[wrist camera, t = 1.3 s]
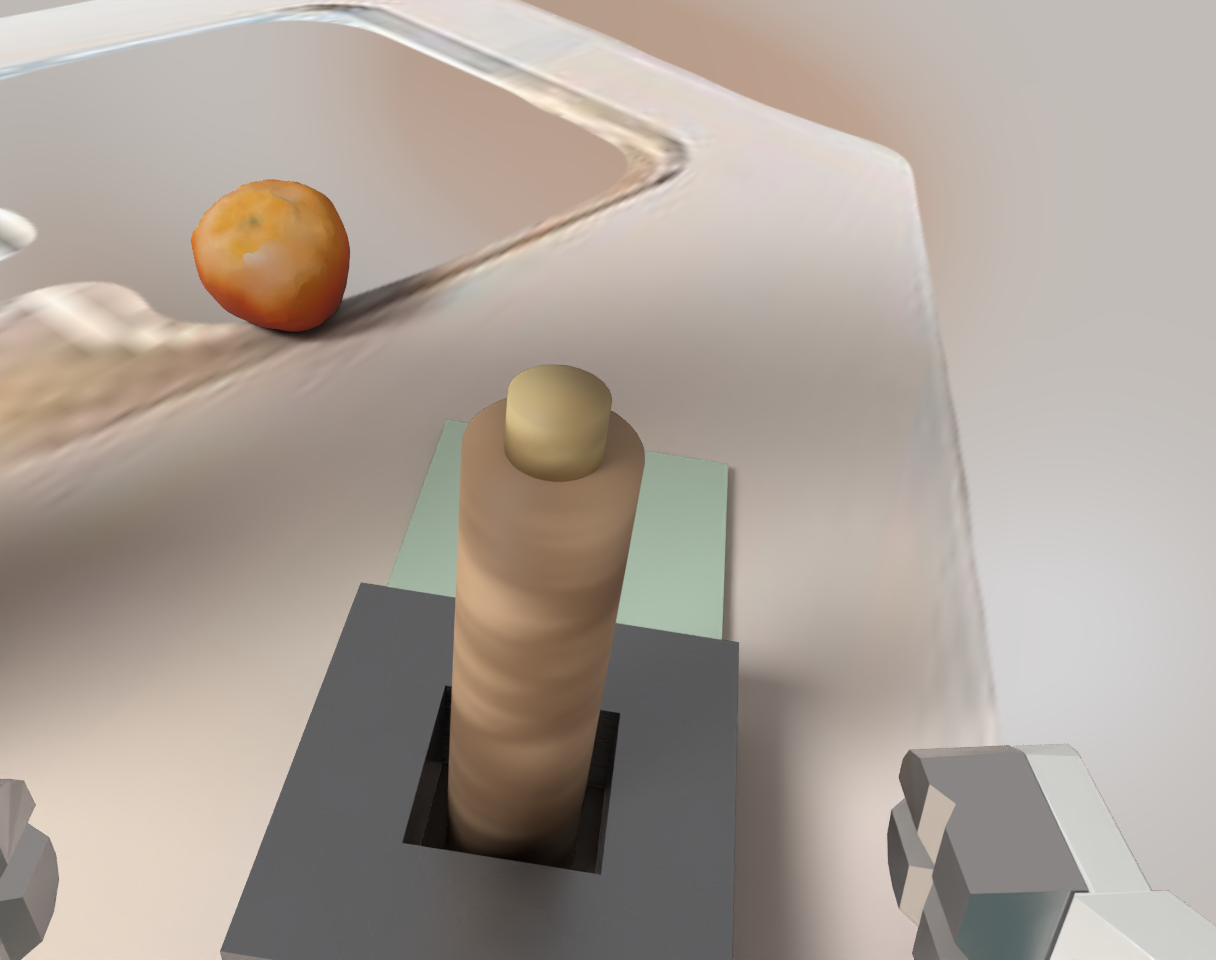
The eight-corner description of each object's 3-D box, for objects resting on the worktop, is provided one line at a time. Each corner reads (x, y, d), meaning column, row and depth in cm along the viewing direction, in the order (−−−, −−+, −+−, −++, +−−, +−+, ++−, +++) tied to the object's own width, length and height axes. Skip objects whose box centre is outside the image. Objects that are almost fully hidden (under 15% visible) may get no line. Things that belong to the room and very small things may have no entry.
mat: (383, 605, 46) (383, 596, 46) (446, 428, 55) (446, 419, 55) (718, 658, 46) (721, 649, 46) (726, 473, 55) (728, 463, 55)
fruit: (401, 263, 64) (355, 179, 56) (334, 380, 61) (277, 308, 54) (283, 221, 66) (224, 134, 58) (214, 333, 63) (143, 257, 56)
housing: (237, 1023, 33) (220, 951, 30) (364, 661, 44) (360, 582, 41) (702, 1097, 33) (730, 1033, 30) (716, 717, 44) (739, 642, 41)
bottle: (432, 898, 37) (445, 439, 24) (460, 785, 40) (483, 328, 27) (564, 919, 37) (647, 471, 24) (580, 804, 40) (661, 356, 27)
